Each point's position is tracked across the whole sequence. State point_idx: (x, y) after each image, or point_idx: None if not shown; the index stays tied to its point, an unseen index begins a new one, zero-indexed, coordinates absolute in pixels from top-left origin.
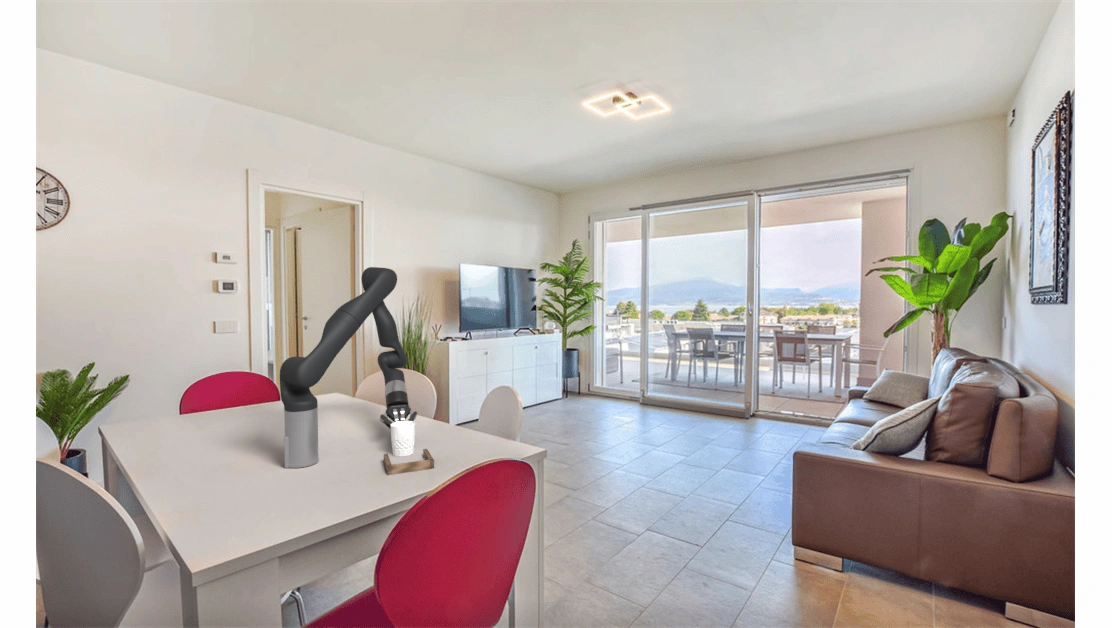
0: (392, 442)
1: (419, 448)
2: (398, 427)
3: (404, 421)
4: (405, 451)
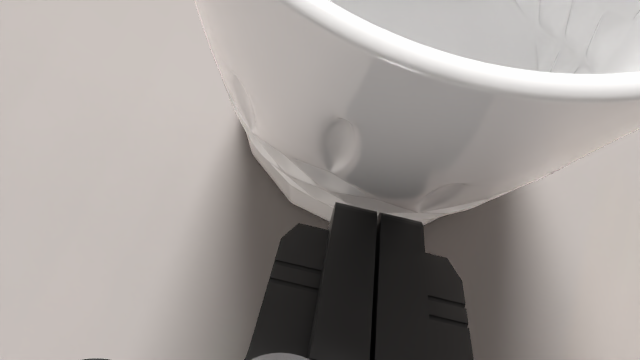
0: (596, 25)
1: (114, 173)
2: None
3: (359, 26)
4: None
